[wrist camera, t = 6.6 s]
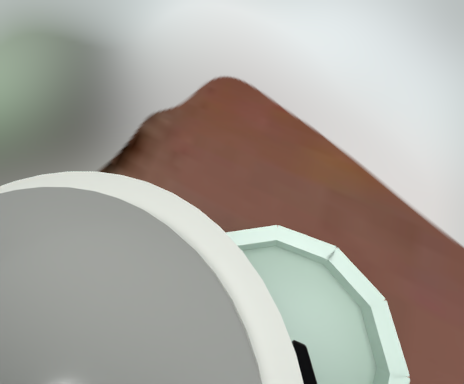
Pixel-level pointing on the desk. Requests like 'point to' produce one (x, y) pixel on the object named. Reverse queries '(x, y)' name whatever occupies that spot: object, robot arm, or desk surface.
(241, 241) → the bowl
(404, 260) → the desk surface
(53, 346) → the white cylinder
